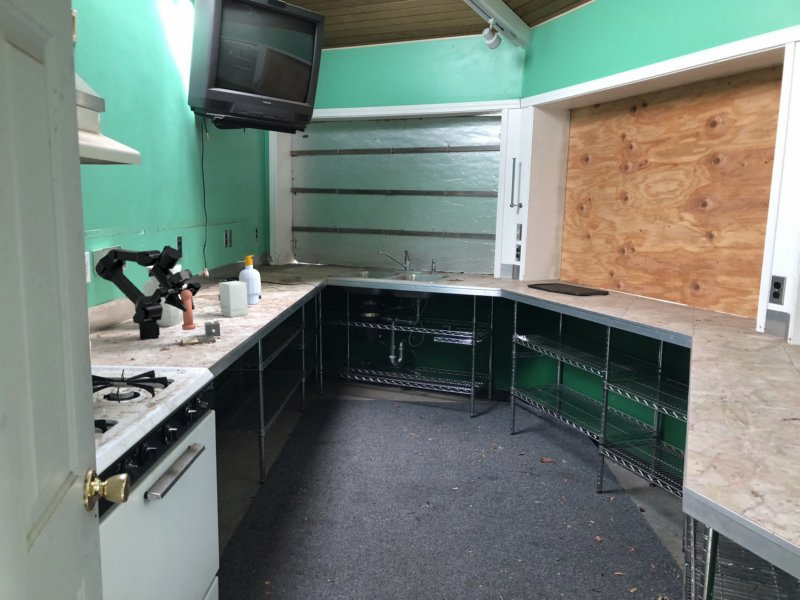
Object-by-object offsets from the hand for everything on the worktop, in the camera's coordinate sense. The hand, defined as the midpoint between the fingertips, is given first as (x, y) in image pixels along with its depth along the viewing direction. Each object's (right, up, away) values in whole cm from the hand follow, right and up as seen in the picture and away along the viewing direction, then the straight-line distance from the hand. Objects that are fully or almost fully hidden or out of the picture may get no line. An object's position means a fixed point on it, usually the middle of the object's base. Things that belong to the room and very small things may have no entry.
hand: (190, 309), depth 194 cm
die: (+3, -10, +14) cm, 17 cm away
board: (+2, -12, +4) cm, 13 cm away
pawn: (-1, -7, +2) cm, 7 cm away
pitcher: (-23, -7, +35) cm, 42 cm away
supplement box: (0, -3, +52) cm, 53 cm away
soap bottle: (0, +1, +80) cm, 80 cm away
